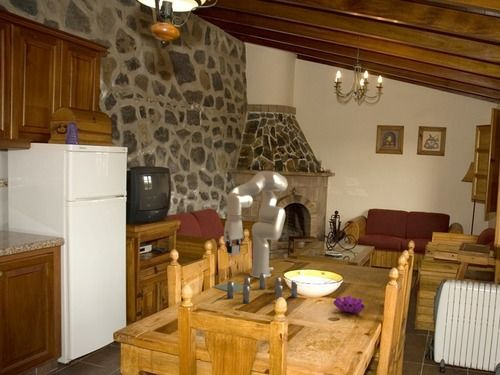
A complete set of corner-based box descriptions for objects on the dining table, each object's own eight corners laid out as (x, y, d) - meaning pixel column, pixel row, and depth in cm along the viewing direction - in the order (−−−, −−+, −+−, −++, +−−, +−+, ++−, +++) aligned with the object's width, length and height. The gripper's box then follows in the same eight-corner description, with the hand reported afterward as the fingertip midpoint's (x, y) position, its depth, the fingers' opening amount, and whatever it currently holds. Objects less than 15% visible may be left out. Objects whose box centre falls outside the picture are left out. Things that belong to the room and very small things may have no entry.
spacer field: (261, 287, 248) (262, 272, 248) (298, 297, 232) (298, 281, 232) (225, 297, 228) (226, 281, 228) (262, 309, 212) (263, 292, 212)
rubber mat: (231, 282, 257) (232, 282, 257) (250, 287, 248) (250, 287, 247) (213, 287, 247) (213, 286, 247) (232, 292, 237) (232, 292, 237)
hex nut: (225, 254, 246) (225, 244, 246) (232, 252, 250) (232, 243, 250) (234, 255, 242) (234, 246, 241) (241, 254, 246) (241, 245, 245)
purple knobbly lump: (344, 323, 205) (332, 305, 206) (345, 312, 220) (334, 296, 221) (366, 310, 203) (353, 292, 204) (365, 300, 218) (353, 283, 218)
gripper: (240, 216, 254) (239, 249, 255) (217, 218, 241) (216, 253, 242) (250, 217, 249) (249, 251, 250) (227, 220, 236) (227, 255, 237)
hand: (233, 251), depth 246 cm, fingers closed on hex nut, 5 cm apart
